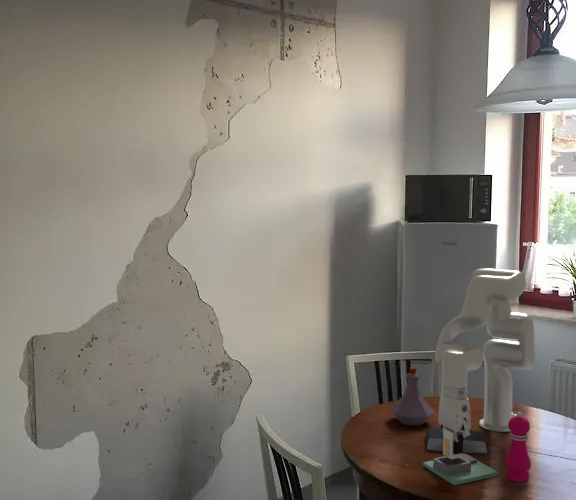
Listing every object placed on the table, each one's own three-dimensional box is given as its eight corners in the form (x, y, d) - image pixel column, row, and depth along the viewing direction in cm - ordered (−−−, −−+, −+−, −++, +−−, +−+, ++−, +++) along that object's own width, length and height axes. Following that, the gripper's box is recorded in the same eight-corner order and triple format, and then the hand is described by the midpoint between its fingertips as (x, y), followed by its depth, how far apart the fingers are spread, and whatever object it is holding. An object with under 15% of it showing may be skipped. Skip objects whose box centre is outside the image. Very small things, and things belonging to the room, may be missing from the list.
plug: (453, 452, 205) (454, 426, 205) (462, 457, 202) (462, 431, 201) (441, 454, 203) (442, 429, 203) (450, 459, 200) (450, 433, 199)
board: (465, 457, 214) (465, 446, 214) (497, 475, 201) (498, 463, 200) (423, 466, 208) (423, 454, 208) (454, 485, 194) (454, 473, 194)
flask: (387, 427, 242) (388, 372, 240) (391, 412, 258) (392, 361, 256) (434, 431, 238) (435, 375, 236) (435, 416, 254) (436, 363, 252)
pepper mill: (500, 473, 203) (502, 408, 201) (524, 472, 203) (525, 407, 201) (510, 483, 195) (512, 416, 194) (534, 482, 196) (536, 415, 194)
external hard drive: (487, 455, 217) (488, 443, 217) (426, 451, 221) (426, 439, 220) (483, 440, 230) (483, 429, 230) (425, 437, 233) (425, 425, 233)
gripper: (483, 397, 195) (481, 458, 196) (446, 382, 210) (445, 439, 212) (462, 400, 192) (460, 463, 193) (427, 385, 207) (426, 443, 209)
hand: (452, 450), depth 203 cm, fingers closed on plug, 4 cm apart
